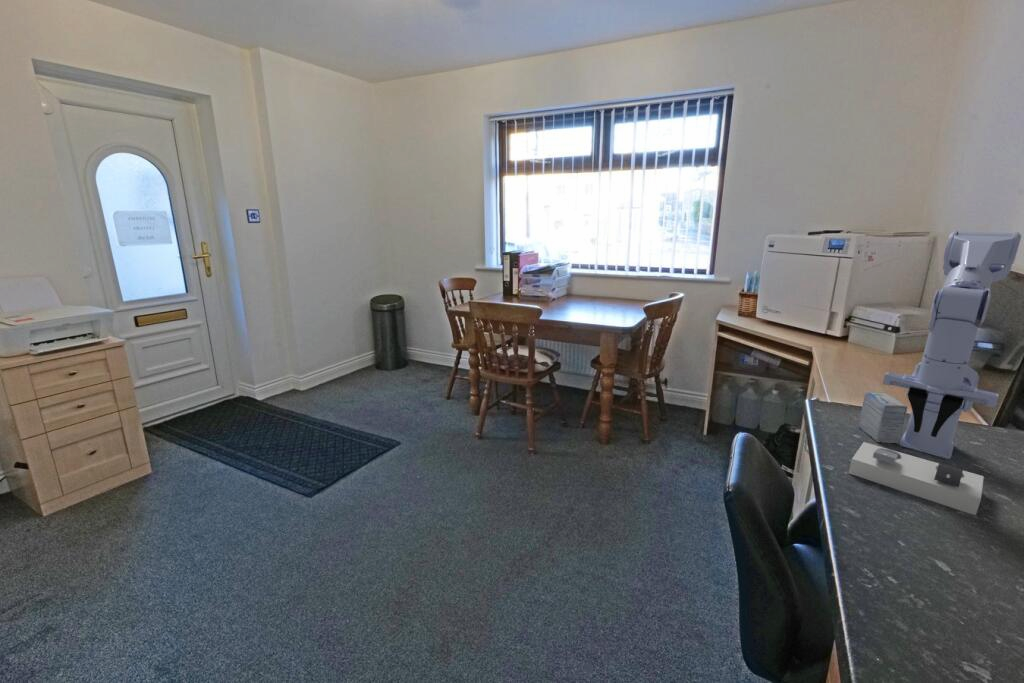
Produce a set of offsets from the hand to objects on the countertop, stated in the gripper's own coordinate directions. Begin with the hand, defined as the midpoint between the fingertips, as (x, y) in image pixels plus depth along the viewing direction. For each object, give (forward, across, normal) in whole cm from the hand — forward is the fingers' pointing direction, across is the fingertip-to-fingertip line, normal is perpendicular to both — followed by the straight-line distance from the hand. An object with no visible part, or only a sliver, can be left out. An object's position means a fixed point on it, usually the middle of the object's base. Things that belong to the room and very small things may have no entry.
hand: (925, 432), depth 82 cm
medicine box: (+10, -8, +18) cm, 22 cm away
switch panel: (+9, 0, -1) cm, 9 cm away
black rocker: (+5, +4, -3) cm, 7 cm away
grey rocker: (+5, -4, -3) cm, 7 cm away
